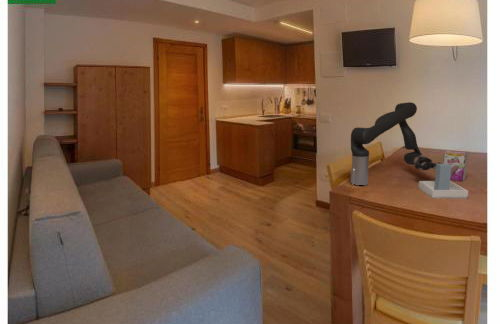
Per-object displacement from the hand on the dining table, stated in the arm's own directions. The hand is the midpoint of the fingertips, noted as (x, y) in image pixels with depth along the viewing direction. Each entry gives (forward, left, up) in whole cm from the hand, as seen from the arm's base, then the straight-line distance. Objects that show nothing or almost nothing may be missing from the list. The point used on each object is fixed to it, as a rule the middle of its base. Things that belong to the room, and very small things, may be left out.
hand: (434, 168), depth 170 cm
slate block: (0, -11, -9) cm, 14 cm away
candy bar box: (+18, +17, -11) cm, 27 cm away
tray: (0, -11, -10) cm, 15 cm away
